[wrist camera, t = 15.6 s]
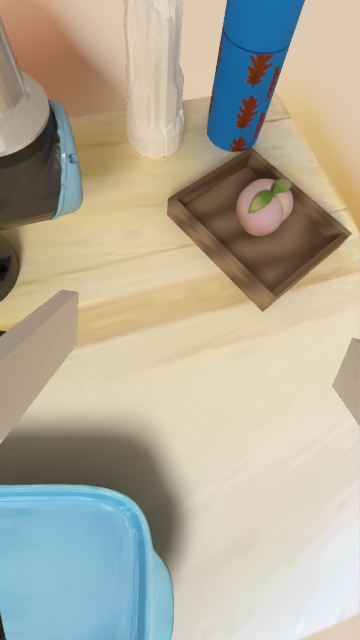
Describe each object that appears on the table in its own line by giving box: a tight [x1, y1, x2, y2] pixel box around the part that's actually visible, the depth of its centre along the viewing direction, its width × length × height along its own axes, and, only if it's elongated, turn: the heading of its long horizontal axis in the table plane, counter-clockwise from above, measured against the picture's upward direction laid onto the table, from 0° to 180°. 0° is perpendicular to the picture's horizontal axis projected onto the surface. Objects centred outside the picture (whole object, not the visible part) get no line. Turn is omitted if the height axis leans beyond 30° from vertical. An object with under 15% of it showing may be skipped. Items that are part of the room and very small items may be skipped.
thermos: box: [207, 0, 305, 152], centre depth 53 cm, size 11×11×25 cm
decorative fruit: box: [236, 179, 293, 236], centre depth 50 cm, size 9×8×10 cm
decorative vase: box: [124, 0, 184, 159], centre depth 51 cm, size 11×11×25 cm
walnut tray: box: [167, 148, 352, 312], centre depth 54 cm, size 24×20×4 cm
